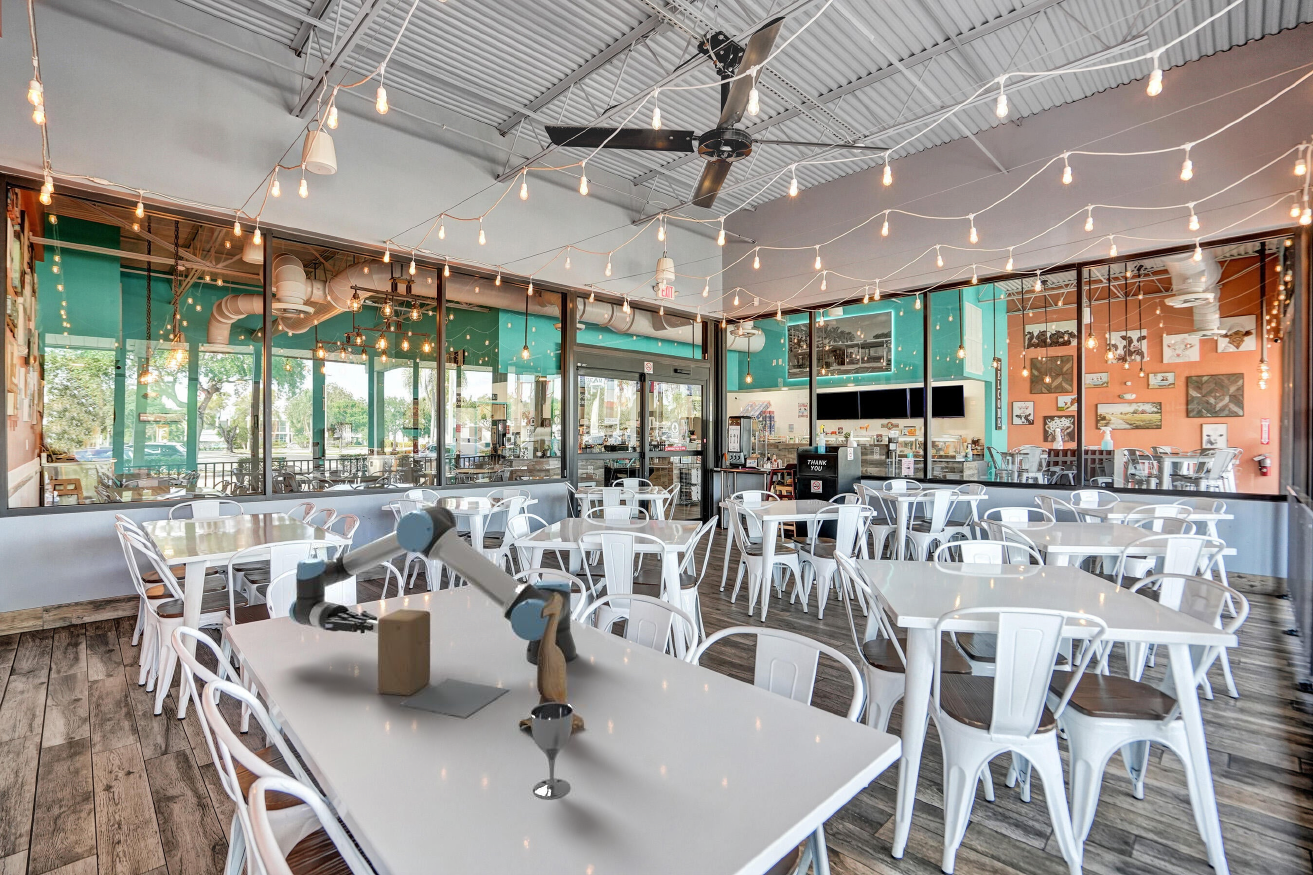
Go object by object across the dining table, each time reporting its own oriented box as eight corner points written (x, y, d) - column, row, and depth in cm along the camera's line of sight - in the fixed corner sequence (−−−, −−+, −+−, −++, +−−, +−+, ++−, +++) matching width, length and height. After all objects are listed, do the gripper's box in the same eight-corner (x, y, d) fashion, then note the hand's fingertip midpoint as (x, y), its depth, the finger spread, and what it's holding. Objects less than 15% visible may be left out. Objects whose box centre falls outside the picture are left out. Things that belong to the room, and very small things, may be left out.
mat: (508, 690, 168) (508, 689, 168) (465, 718, 151) (465, 716, 151) (448, 679, 175) (448, 678, 175) (400, 705, 158) (400, 704, 158)
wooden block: (410, 697, 163) (410, 620, 163) (376, 694, 165) (376, 618, 165) (431, 682, 173) (431, 610, 173) (399, 679, 175) (399, 608, 175)
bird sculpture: (516, 731, 145) (513, 593, 144) (555, 713, 154) (553, 583, 153) (548, 747, 138) (546, 602, 137) (586, 726, 147) (585, 591, 146)
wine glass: (533, 778, 124) (533, 702, 124) (573, 776, 125) (573, 701, 125) (528, 801, 116) (528, 720, 116) (571, 799, 117) (571, 718, 117)
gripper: (350, 623, 190) (403, 635, 179) (308, 635, 179) (362, 648, 167) (350, 598, 190) (403, 609, 179) (309, 608, 179) (362, 620, 167)
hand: (383, 628), depth 173 cm, fingers closed
